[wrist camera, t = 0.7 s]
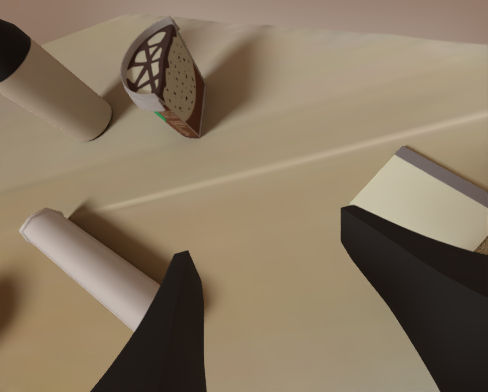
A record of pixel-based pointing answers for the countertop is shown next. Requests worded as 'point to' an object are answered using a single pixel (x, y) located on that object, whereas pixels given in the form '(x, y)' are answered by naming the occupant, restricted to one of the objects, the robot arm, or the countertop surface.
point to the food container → (165, 77)
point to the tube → (92, 265)
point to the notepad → (427, 200)
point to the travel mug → (48, 87)
